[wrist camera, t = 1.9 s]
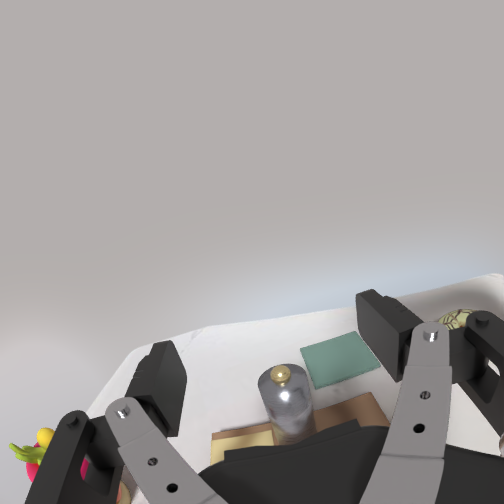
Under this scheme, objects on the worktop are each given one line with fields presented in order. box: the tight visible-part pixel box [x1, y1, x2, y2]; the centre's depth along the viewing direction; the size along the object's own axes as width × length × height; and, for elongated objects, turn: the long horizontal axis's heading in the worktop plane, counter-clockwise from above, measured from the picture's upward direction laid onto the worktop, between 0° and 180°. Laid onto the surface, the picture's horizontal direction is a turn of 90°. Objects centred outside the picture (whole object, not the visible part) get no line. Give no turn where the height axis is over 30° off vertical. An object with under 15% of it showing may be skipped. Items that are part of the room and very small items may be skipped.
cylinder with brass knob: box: [258, 364, 317, 445], centre depth 27 cm, size 5×5×13 cm
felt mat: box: [300, 331, 380, 389], centre depth 45 cm, size 11×11×1 cm
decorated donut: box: [438, 309, 477, 330], centre depth 37 cm, size 10×11×4 cm
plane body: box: [210, 392, 390, 466], centre depth 29 cm, size 22×8×3 cm, turn 94°
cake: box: [9, 428, 131, 504], centre depth 20 cm, size 10×11×15 cm
